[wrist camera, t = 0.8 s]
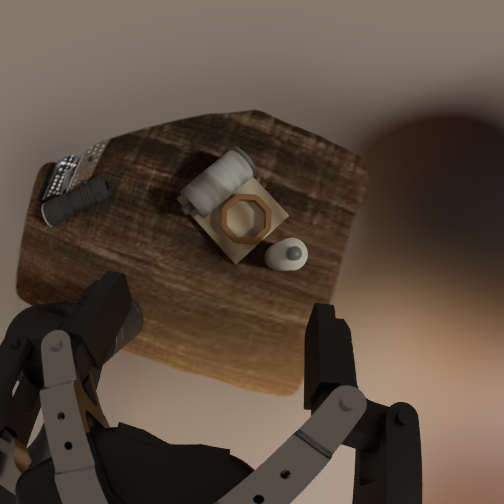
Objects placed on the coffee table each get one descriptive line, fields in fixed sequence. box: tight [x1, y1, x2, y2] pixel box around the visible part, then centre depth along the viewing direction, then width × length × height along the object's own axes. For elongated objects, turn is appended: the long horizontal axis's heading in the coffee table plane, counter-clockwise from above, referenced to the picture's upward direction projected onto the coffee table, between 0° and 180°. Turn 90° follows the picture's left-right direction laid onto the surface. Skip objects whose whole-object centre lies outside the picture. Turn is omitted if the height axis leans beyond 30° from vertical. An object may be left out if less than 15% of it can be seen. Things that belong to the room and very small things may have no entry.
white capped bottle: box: [264, 238, 308, 271], centre depth 51 cm, size 5×5×13 cm
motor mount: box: [177, 147, 289, 265], centre depth 53 cm, size 15×17×8 cm
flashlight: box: [41, 175, 111, 227], centre depth 51 cm, size 15×5×5 cm, turn 112°
